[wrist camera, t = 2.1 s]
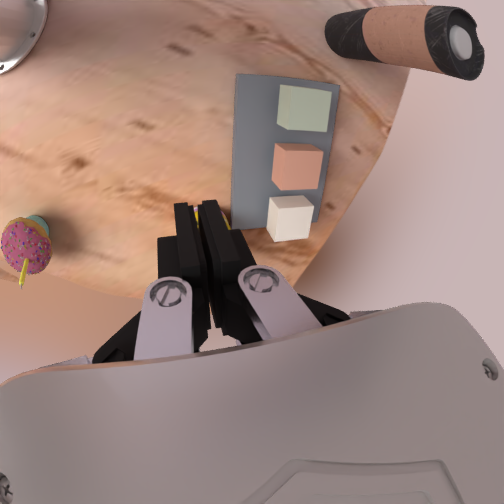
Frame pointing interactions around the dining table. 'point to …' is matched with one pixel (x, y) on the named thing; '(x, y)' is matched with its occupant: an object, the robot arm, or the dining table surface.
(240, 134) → the board
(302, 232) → the button cream
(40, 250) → the cupcake
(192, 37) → the dining table surface
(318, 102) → the button sage
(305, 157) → the button terracotta
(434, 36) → the travel mug
